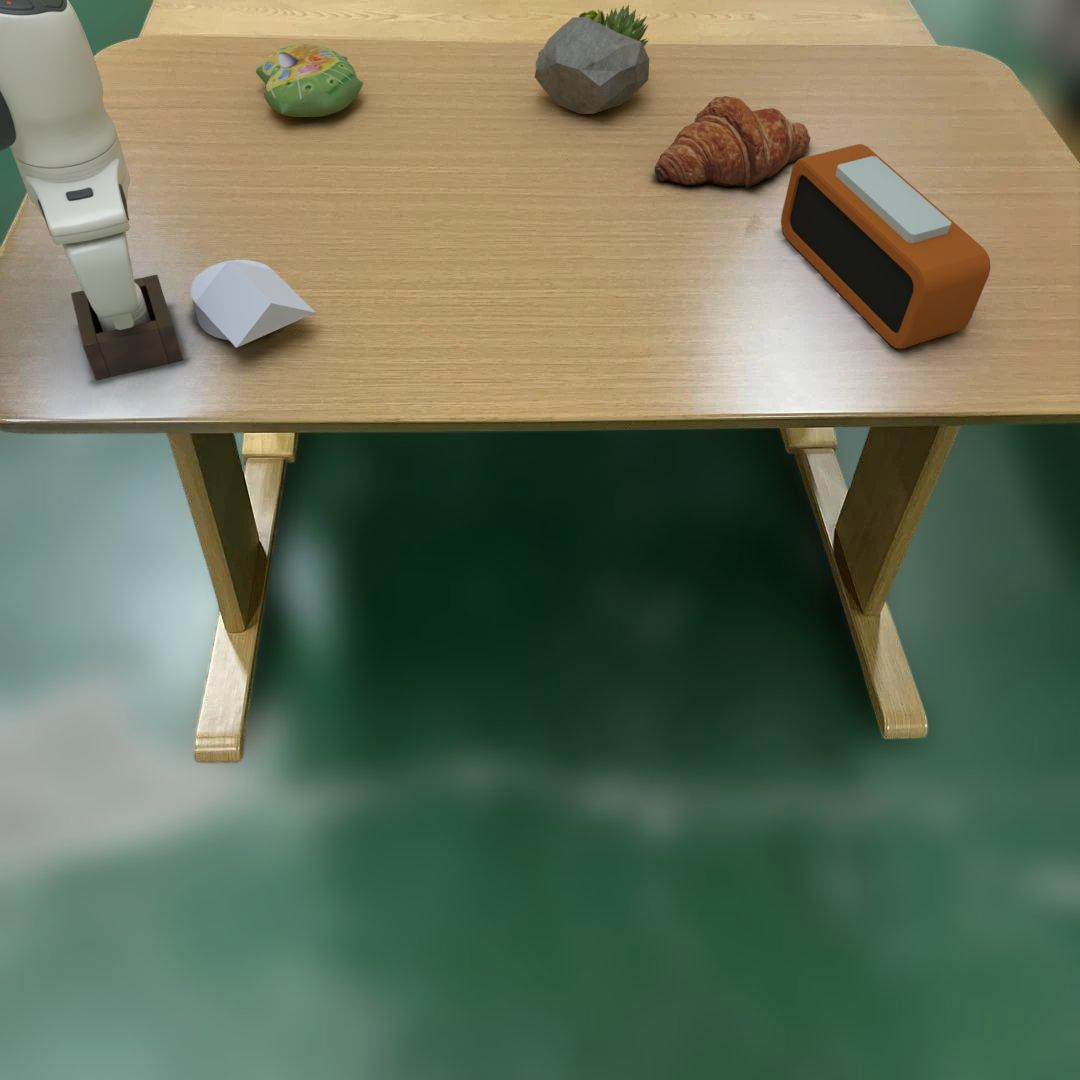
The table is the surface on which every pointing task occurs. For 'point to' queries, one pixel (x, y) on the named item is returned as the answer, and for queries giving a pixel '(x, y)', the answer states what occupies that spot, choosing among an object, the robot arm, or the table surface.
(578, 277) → the table surface
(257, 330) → the wedge on round base
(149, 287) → the socket
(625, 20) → the potted plant
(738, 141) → the pastry
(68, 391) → the table surface
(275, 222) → the table surface
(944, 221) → the alarm clock
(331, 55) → the educational model
